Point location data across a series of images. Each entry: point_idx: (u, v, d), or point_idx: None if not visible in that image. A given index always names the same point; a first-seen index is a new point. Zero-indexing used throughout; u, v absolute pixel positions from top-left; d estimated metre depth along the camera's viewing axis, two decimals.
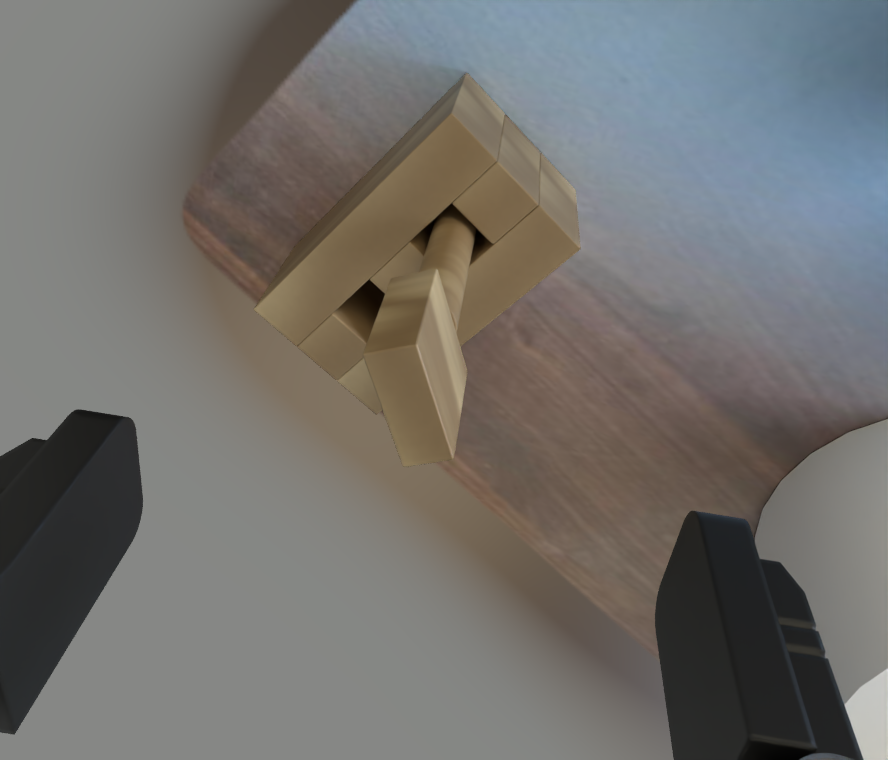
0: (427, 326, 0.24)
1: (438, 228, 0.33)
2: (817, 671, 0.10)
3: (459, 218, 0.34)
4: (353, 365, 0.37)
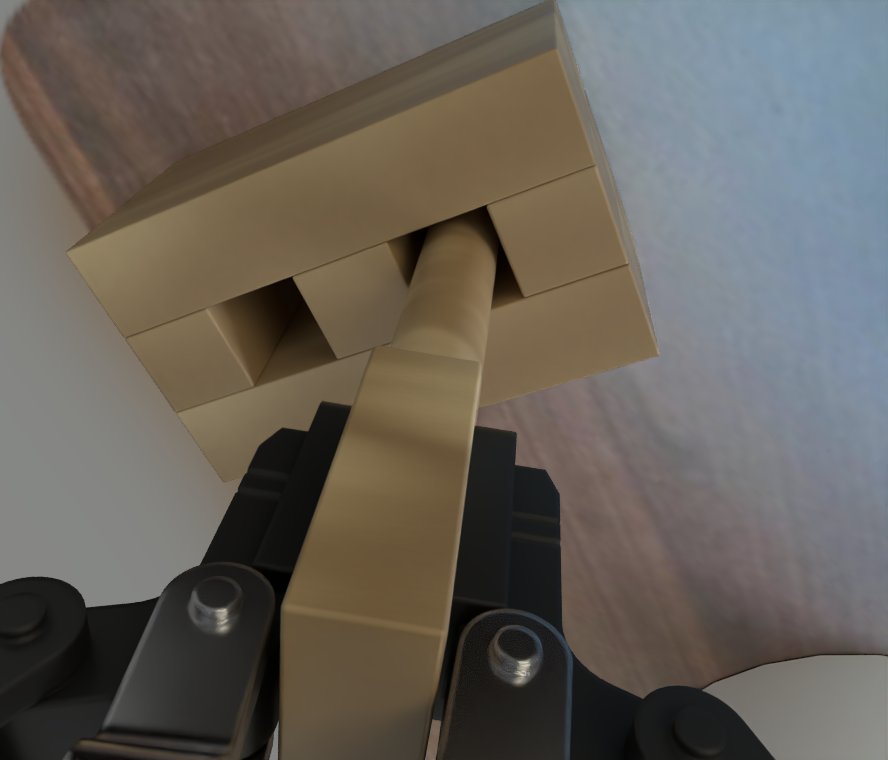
0: None
1: (447, 240, 0.18)
2: (546, 555, 0.11)
3: (483, 234, 0.19)
4: (212, 398, 0.22)
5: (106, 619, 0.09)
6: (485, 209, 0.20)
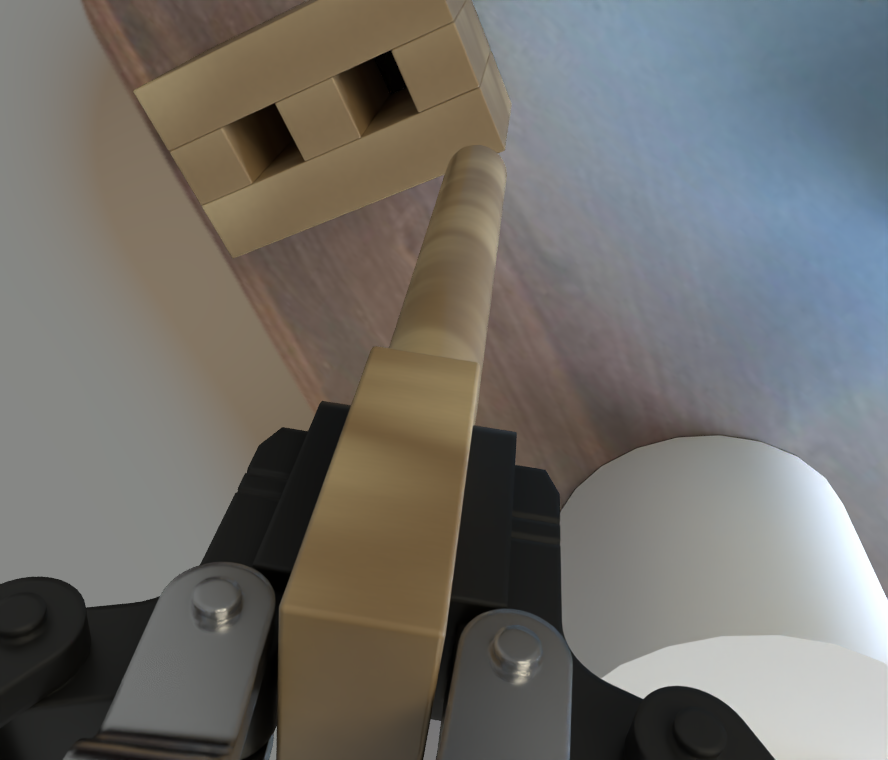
0: None
1: (446, 240, 0.18)
2: (546, 555, 0.11)
3: (482, 234, 0.19)
4: (225, 194, 0.33)
5: (106, 619, 0.09)
6: (484, 209, 0.20)
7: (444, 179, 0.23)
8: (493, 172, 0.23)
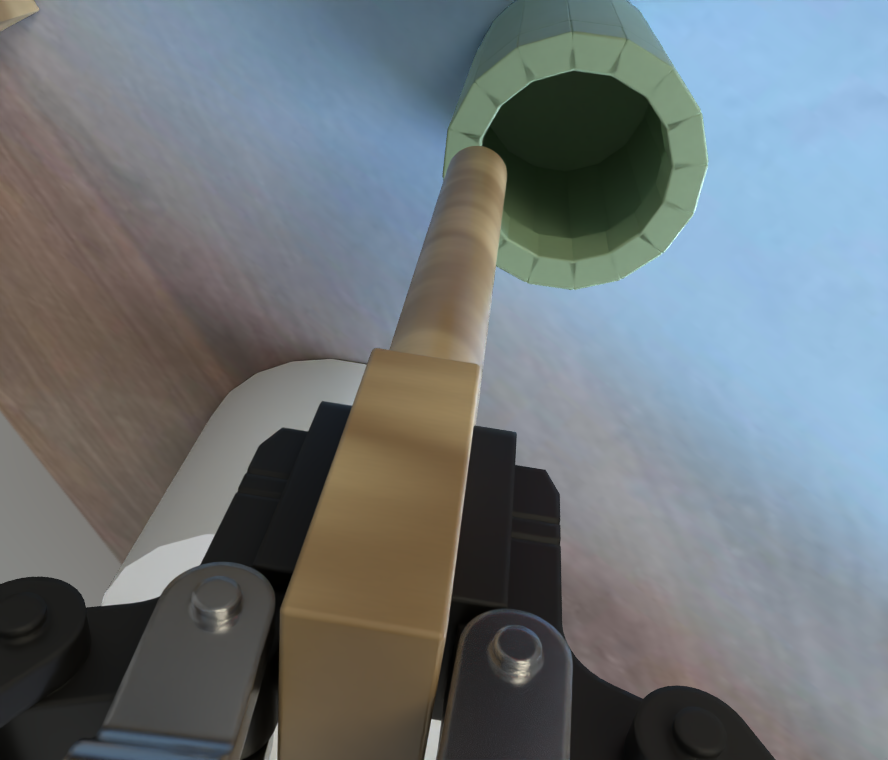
0: None
1: (447, 242, 0.18)
2: (546, 555, 0.11)
3: (482, 235, 0.19)
4: None
5: (106, 621, 0.09)
6: (485, 210, 0.20)
7: (444, 180, 0.23)
8: (493, 173, 0.23)
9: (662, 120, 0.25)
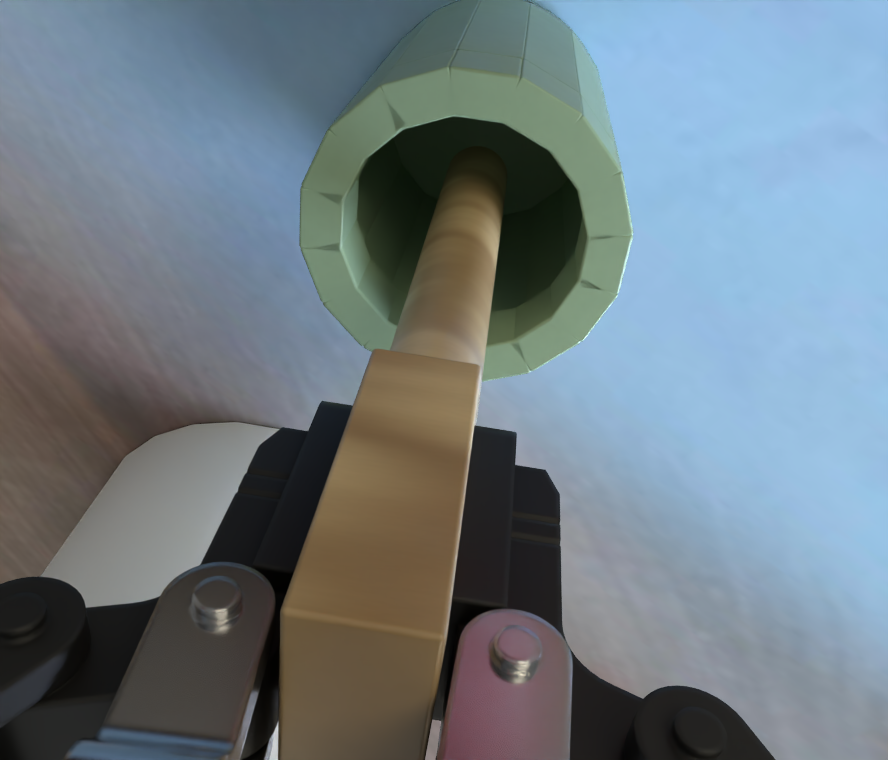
0: None
1: (447, 242, 0.18)
2: (546, 555, 0.11)
3: (483, 236, 0.19)
4: None
5: (106, 620, 0.09)
6: (485, 211, 0.20)
7: (445, 180, 0.23)
8: (494, 173, 0.23)
9: (572, 180, 0.19)
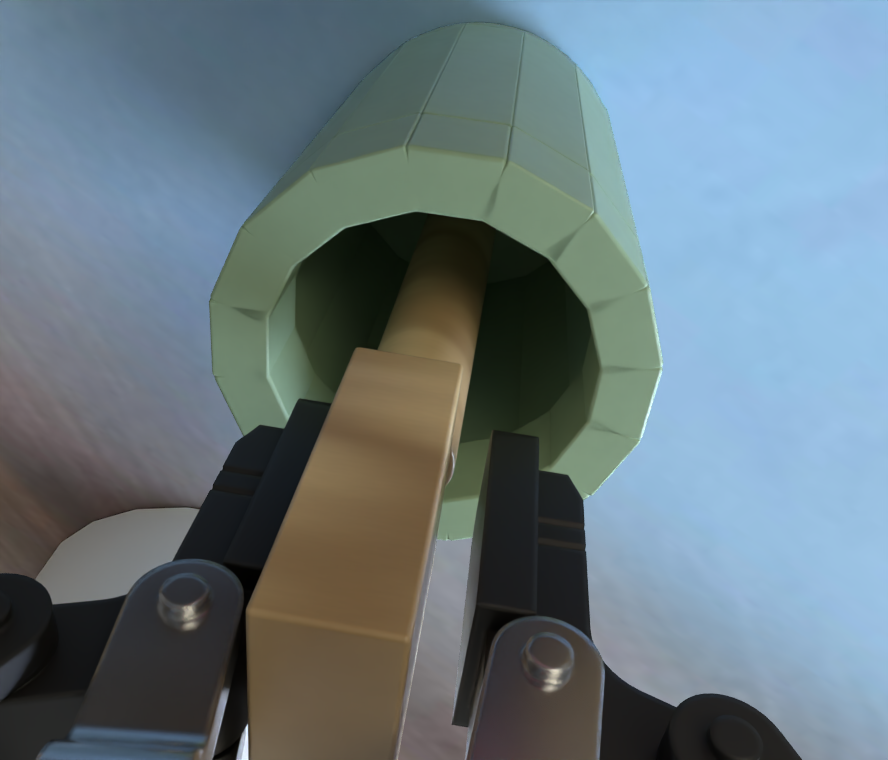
0: (430, 544, 0.09)
1: (439, 240, 0.18)
2: (572, 561, 0.11)
3: (476, 234, 0.19)
4: None
5: (74, 616, 0.09)
6: None
7: None
8: None
9: (579, 296, 0.14)
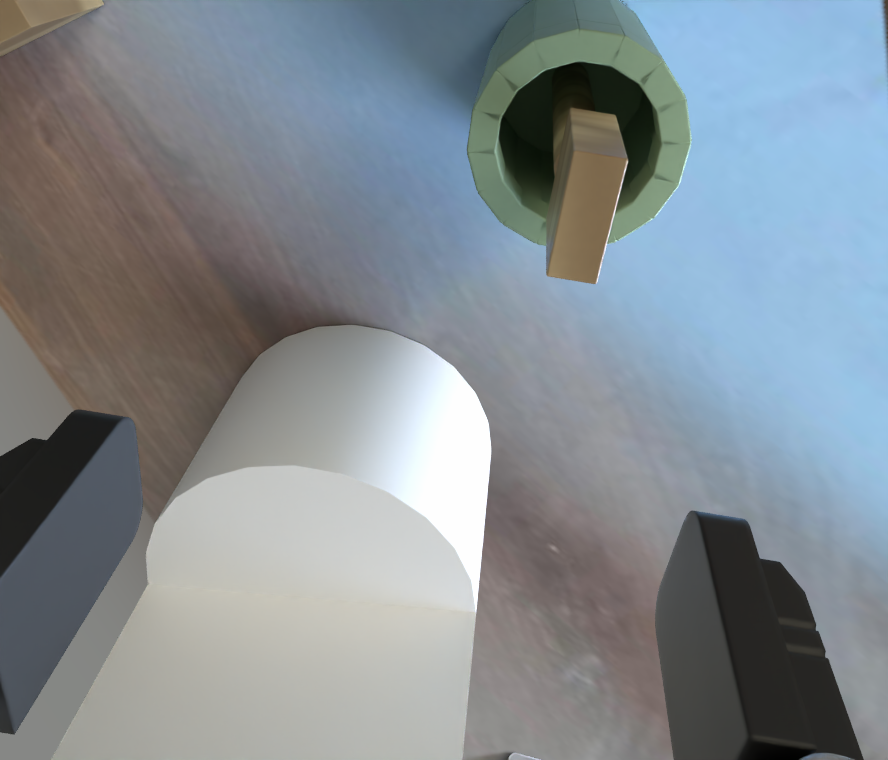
0: None
1: (572, 96, 0.34)
2: (817, 671, 0.10)
3: (589, 97, 0.35)
4: None
5: None
6: (586, 88, 0.36)
7: (555, 78, 0.39)
8: (585, 74, 0.39)
9: (653, 104, 0.30)
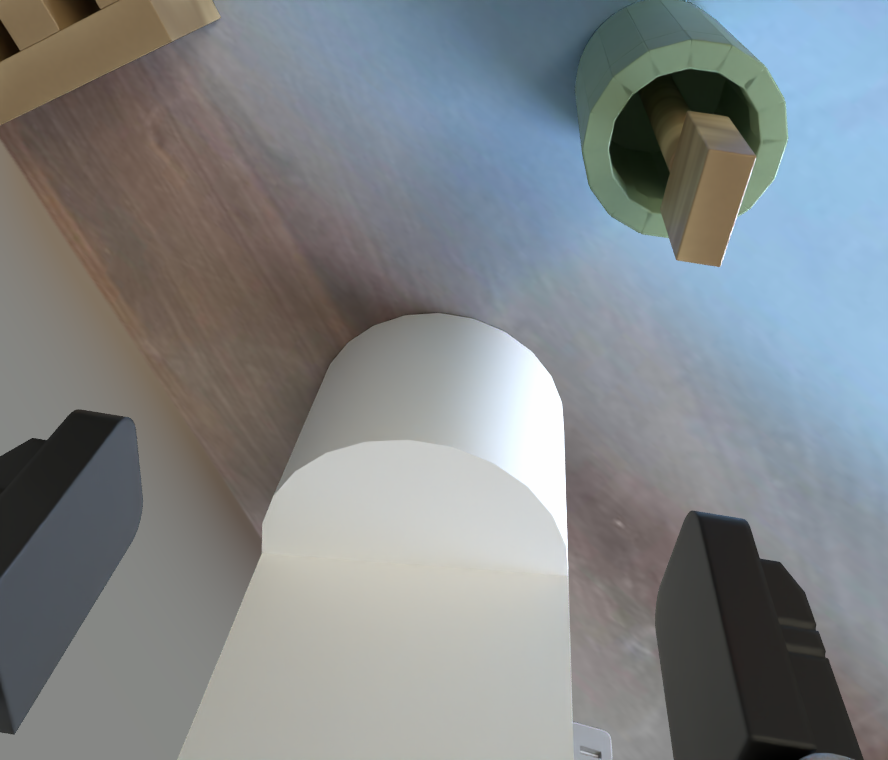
0: None
1: (670, 99, 0.37)
2: (817, 671, 0.10)
3: (683, 99, 0.38)
4: None
5: None
6: (678, 91, 0.39)
7: None
8: (671, 78, 0.42)
9: (755, 106, 0.33)
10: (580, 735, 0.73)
